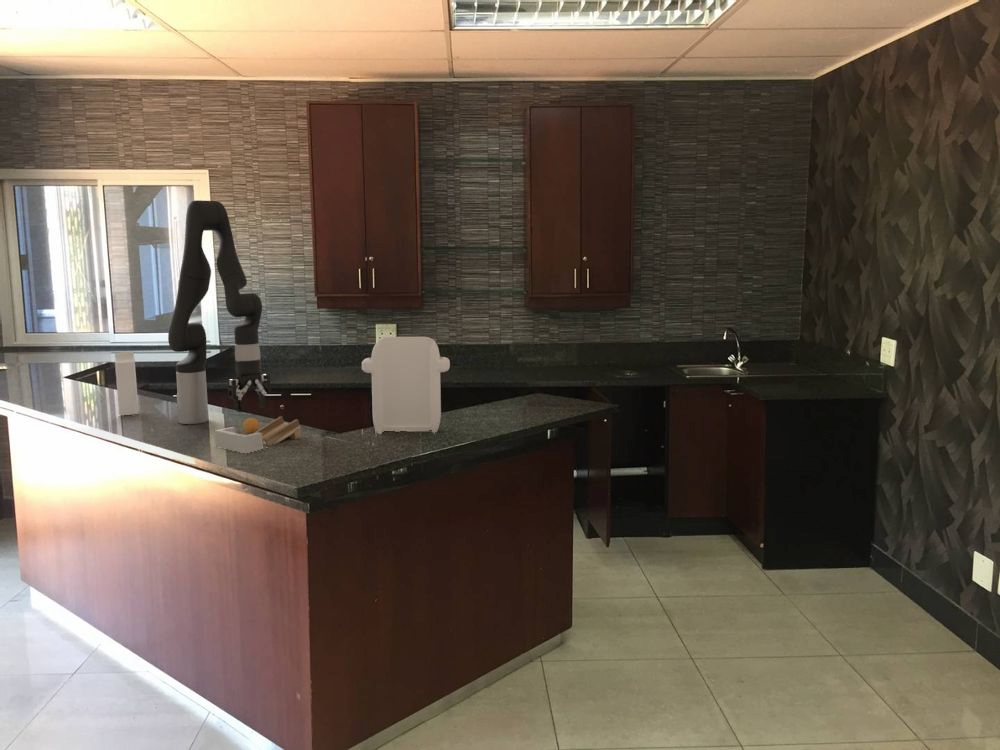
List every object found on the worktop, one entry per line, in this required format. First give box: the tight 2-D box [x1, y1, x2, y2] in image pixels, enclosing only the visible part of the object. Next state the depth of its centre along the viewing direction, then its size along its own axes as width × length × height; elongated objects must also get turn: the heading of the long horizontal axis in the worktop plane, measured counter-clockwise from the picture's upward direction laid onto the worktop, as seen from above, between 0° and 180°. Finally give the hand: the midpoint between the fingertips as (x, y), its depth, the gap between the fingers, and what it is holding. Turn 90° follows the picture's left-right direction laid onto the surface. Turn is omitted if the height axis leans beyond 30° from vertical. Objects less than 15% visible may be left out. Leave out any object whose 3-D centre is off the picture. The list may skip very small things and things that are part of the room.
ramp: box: [254, 415, 302, 446], centre depth 252 cm, size 8×13×7 cm, turn 144°
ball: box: [242, 417, 261, 435], centre depth 261 cm, size 5×5×5 cm
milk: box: [114, 351, 139, 416], centre depth 290 cm, size 6×6×22 cm
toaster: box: [361, 336, 451, 435], centre depth 262 cm, size 27×11×30 cm, turn 92°
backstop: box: [214, 426, 264, 455], centre depth 242 cm, size 14×6×5 cm, turn 53°
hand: (251, 409), depth 259 cm, fingers open, 8 cm apart
